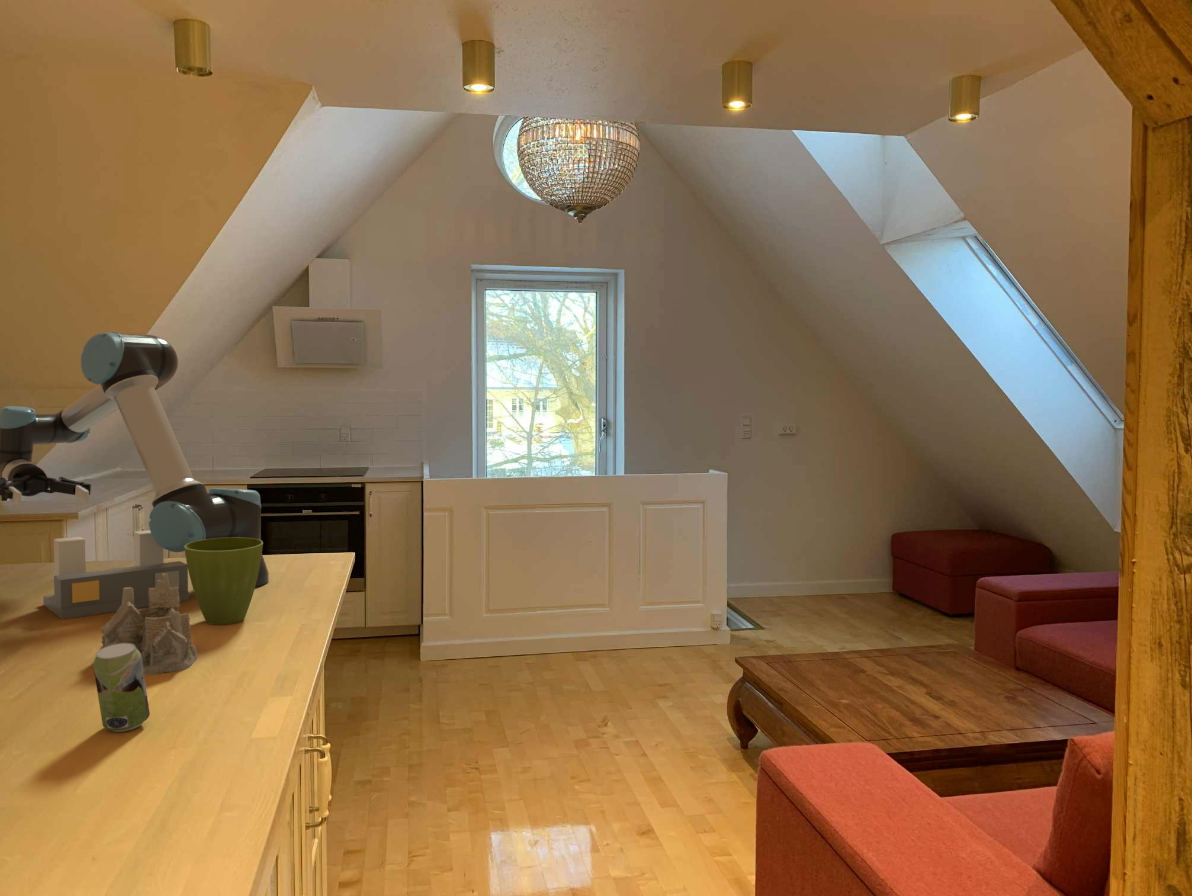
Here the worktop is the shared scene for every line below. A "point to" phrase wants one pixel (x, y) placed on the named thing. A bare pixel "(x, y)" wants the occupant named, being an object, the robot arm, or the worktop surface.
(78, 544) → the key
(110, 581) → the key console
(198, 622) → the worktop surface
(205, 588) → the flower pot
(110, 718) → the beverage can
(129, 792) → the worktop surface
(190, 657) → the ceramic cottage
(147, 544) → the key
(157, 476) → the robot arm
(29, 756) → the worktop surface
